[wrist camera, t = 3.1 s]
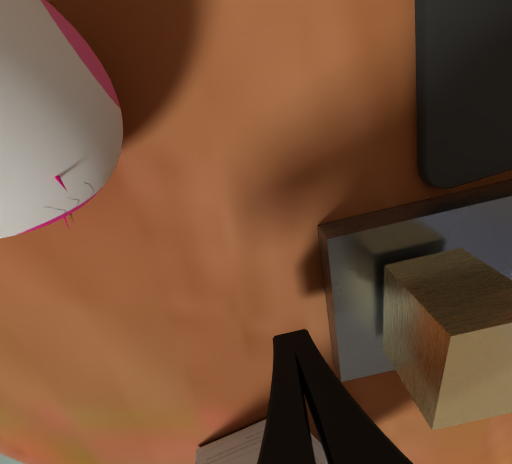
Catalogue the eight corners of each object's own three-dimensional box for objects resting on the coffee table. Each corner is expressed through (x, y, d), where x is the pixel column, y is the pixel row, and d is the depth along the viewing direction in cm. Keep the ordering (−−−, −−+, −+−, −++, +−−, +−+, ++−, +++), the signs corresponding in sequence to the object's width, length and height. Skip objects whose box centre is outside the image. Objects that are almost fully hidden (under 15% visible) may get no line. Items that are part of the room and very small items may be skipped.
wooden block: (444, 335, 12) (514, 411, 9) (382, 349, 12) (431, 430, 9) (460, 247, 10) (560, 311, 7) (384, 265, 10) (450, 336, 7)
